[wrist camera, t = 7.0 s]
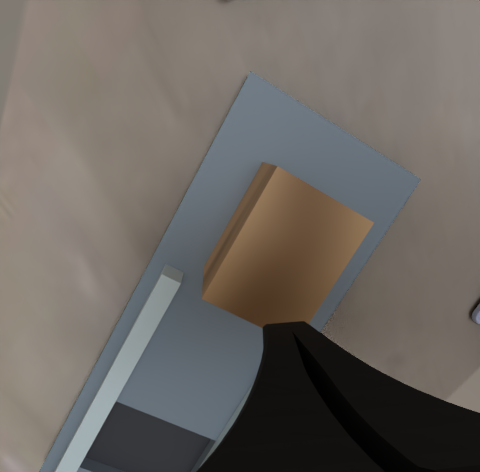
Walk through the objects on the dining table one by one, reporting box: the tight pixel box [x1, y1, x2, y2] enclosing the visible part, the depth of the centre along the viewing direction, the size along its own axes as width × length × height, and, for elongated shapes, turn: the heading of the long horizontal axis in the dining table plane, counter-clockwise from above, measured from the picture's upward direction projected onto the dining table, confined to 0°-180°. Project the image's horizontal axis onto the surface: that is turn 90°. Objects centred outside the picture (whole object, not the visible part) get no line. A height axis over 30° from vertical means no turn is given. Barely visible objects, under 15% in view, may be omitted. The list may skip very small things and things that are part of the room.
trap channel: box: [39, 71, 421, 472], centre depth 19 cm, size 10×25×2 cm, turn 151°
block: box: [202, 162, 374, 328], centre depth 16 cm, size 4×6×4 cm
